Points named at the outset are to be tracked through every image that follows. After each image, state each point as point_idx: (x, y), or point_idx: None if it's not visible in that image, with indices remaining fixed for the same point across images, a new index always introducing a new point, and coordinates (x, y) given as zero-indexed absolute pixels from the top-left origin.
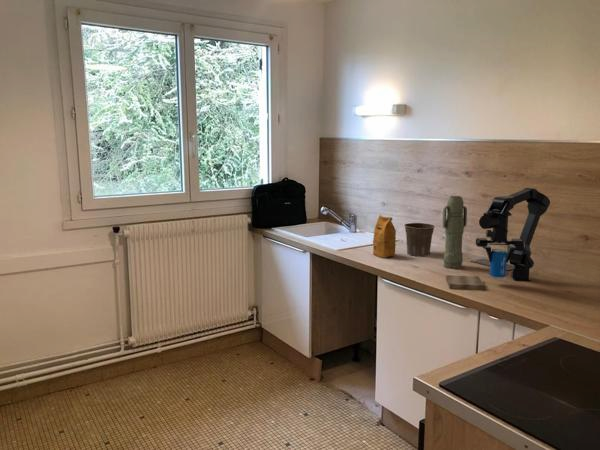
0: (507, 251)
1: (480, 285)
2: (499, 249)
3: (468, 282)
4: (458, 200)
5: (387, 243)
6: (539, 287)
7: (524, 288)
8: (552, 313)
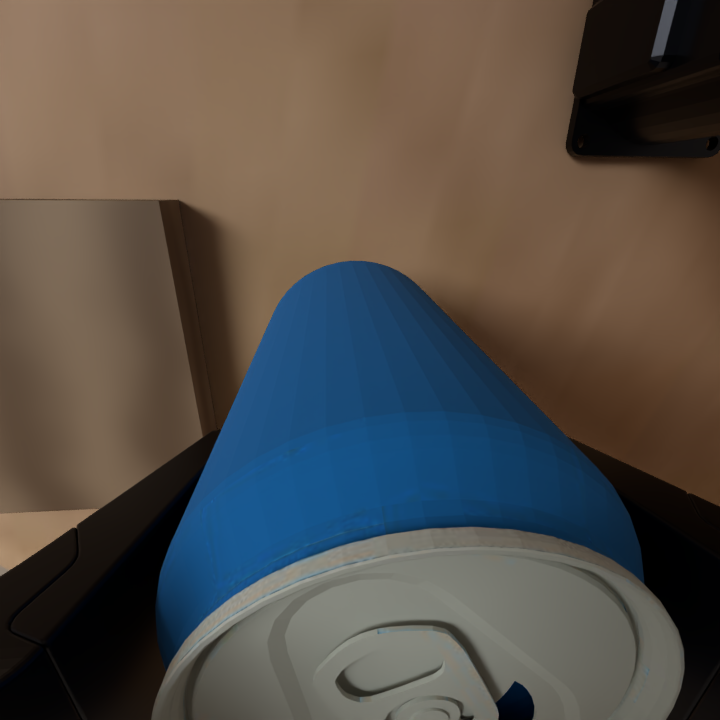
0: (714, 607)
1: None
2: (521, 548)
3: (70, 447)
4: None
5: None
6: (667, 349)
7: (538, 392)
8: None
